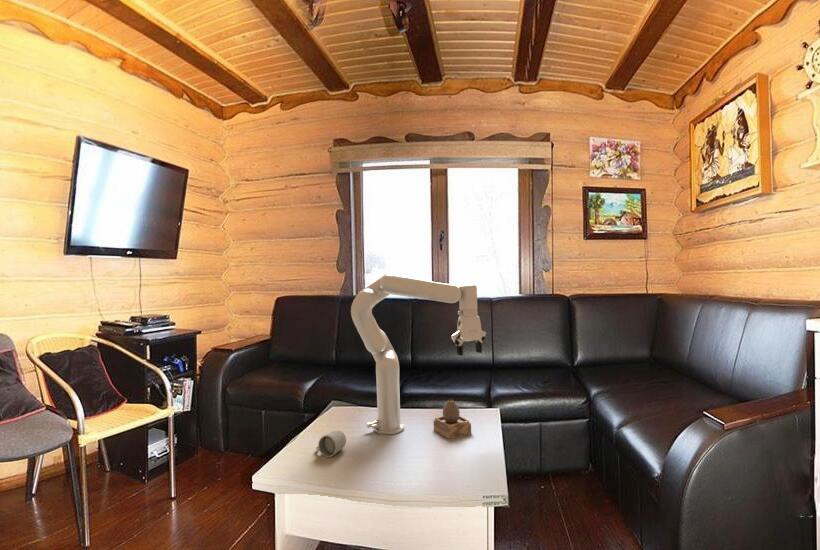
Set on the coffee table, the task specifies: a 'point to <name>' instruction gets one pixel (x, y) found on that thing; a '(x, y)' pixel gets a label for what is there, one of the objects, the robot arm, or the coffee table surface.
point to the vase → (451, 412)
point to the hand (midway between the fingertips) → (469, 353)
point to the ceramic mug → (331, 443)
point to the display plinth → (452, 427)
